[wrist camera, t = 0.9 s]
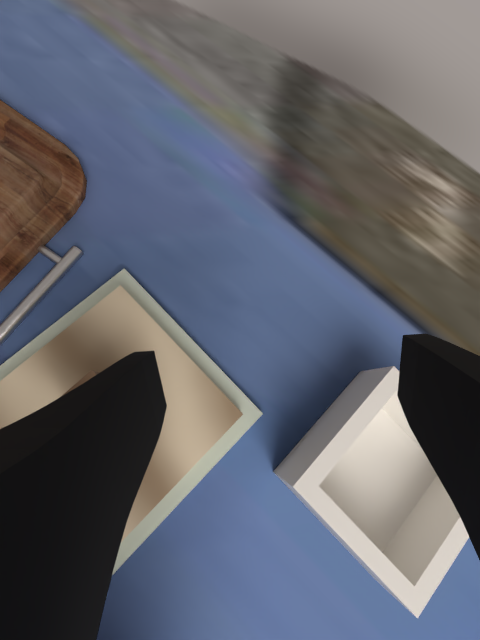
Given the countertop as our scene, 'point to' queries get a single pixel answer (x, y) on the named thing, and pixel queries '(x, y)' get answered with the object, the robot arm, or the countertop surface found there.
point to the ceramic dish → (377, 489)
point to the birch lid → (101, 352)
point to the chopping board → (34, 205)
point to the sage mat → (196, 356)
